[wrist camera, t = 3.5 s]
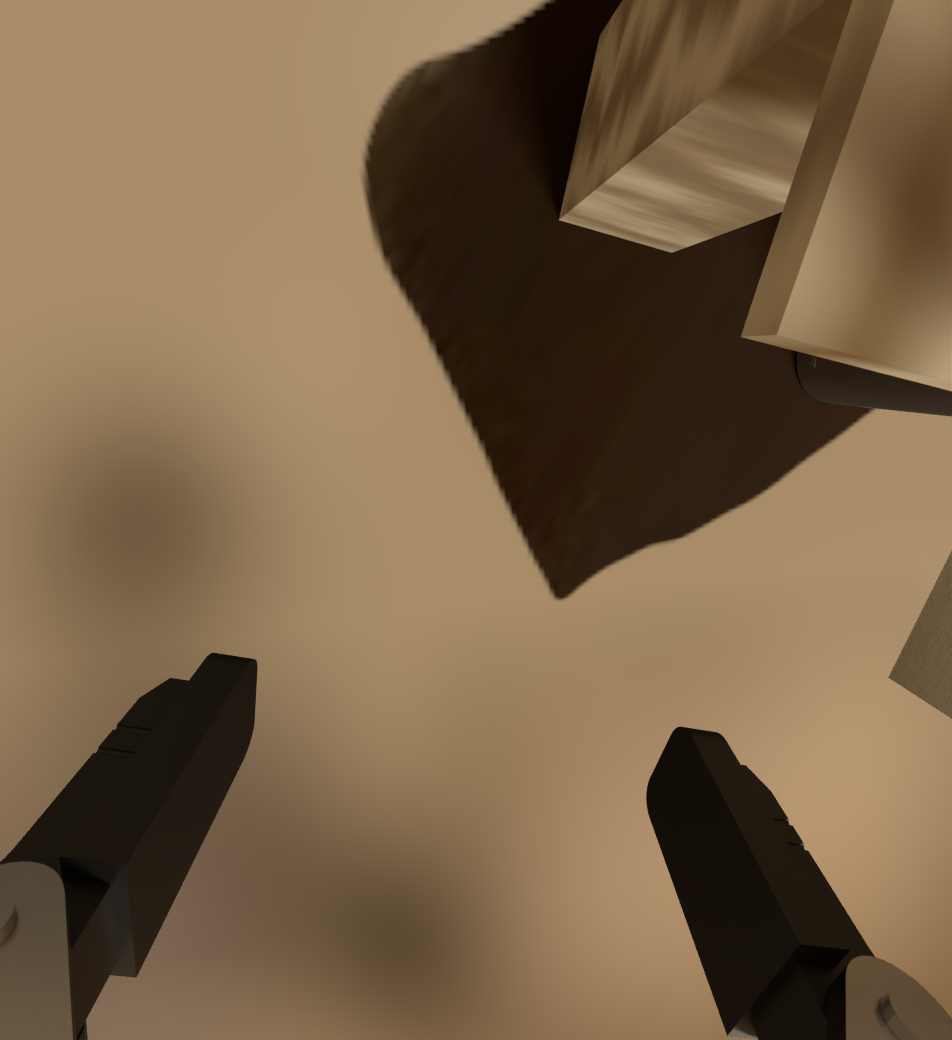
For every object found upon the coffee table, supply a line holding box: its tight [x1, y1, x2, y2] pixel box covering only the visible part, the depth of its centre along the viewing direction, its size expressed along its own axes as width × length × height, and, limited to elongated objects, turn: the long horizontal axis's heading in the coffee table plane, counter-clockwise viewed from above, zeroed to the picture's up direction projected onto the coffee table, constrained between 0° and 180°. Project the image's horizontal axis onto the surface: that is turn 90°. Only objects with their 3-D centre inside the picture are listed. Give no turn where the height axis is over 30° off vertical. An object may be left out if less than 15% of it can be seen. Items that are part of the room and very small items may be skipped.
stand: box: [559, 0, 952, 391], centre depth 26 cm, size 22×12×30 cm, turn 167°
